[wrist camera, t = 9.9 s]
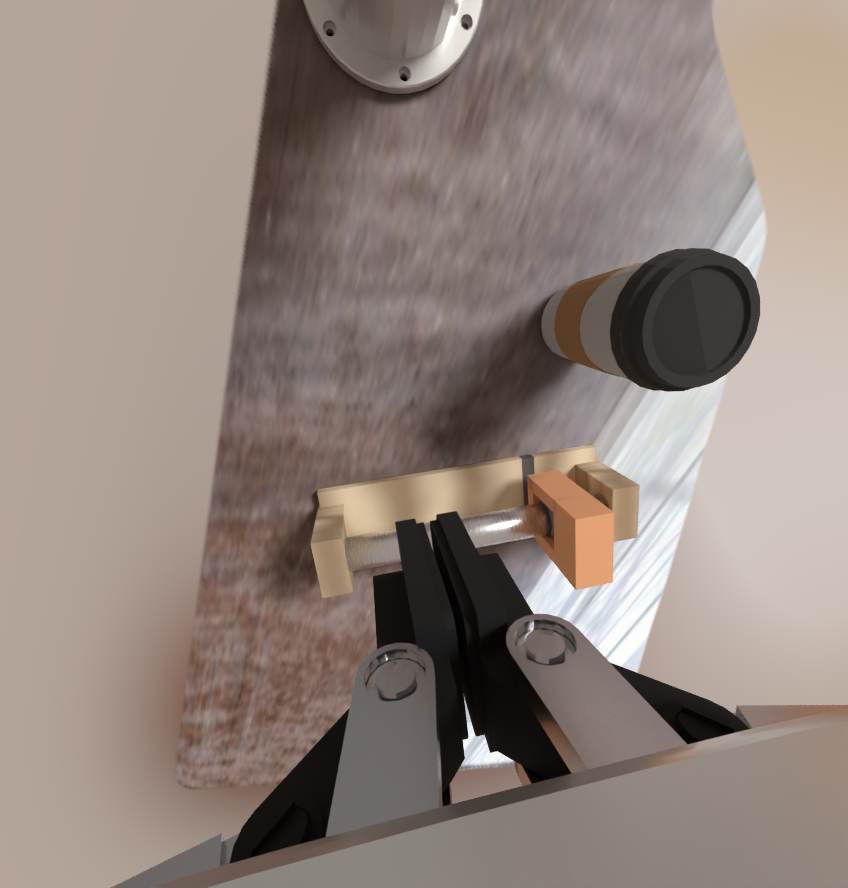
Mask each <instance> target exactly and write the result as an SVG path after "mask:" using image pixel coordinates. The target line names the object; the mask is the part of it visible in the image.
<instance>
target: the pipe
mask: <svg viewBox="0 0 848 888" xmlns="http://www.w3.org/2000/svg"><path fill="white" fill-rule="evenodd" d="M590 495H592V496H593V497H594V498H596V499H597V500H598V501H600V502H601V503H602V504H604V505H605V506H606V507H608V508H609V504H608V502H607V500H606V498H605V497H604V496H603V495H602V494H601V493H592V494H590ZM609 509H610V508H609ZM460 518H461V520H462V522H463V524H464V526H465V528H466V530H467V532H468V534H469V536H470V538H471V540H472V542H473V544H474V545H475V547H476V548H479V547H484V546H490V545H495V544H500V543H506V542H511V541H516V540H522V539H527V538H532V537H538V536H543V535H546V536H548V537H551V536H554V513H553V512H552V511H551V510H550V509H549V508H548V507H547V506H546V505H545V504H544V503H543V502H542V501H541V500H540V501H539V503H536V504H530V505H525V506H519V507H514V508H508V509H502V510H497V511H491V512H486V513H480V514H474V515H469V516H463V517H460ZM424 524H425V528H426V531H427V534H428V537H429V540H430V543H431V546H432V539H431V531H430V523H424ZM432 549H433V547H432ZM345 552H346V559H347V565H348V569H349V571H350V572H351V571H357V570H362V569H367V568H373V567H378V566H383V565H389V564H394V563H399V562H401V558H400V552H399V545H398V539H397V532H396V529H391V530H385V531H379V532H374V533H368V534H363V535H357V536H351V537H346V538H345Z"/></svg>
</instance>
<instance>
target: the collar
mask: <svg viewBox="0 0 848 888" xmlns="http://www.w3.org/2000/svg"><path fill="white" fill-rule="evenodd" d="M527 481H528V504H529V505H530V504H536V503H539V501H540V500H541V501H542V502H543V503H544V504H545V505H546V506H547V507H548V508H549V509H550V510H551V511H552V512H553V513H554V536H551V537H548V536H546V535H543V536H538V537H534V538H535V540H536V541H537V542H538V543H539V545H540V546H541V547H542V548H543V550H544V551H545V552H546V553H547V555H548V556H549V557H550V558H551V560H552V561H553V562H554V563H555V564H556V566H557V567H558V568H559V569H560V571H561V572H562V573H563V574H564V576H565V577H566V578H567V579H568V581H569V582H570V583H571V584H572V586H573V587H574V588H575V589H576V590H577V589H582V588H587V587H592V586H597V585H601V584H606V583H611V582H613V542H614V512H613V511H612V510H610V509H609V508H608V507H606V506H605V505H604V504H602V503H601V502H600V501H598V500H597V499H596V498H594V497H593V496H592V495H590V494H589V493H588V492H586V491H585V490H584V489H582V488H581V487H580V486H578V485H577V484H576V483H574V482H573V481H572V480H570V479H569V478H568V477H567V476H565V475H564V474H563V473H561V472H560V471H559V470H555V471H549V472H544V473H538V474H532V475H527Z"/></svg>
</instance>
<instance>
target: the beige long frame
mask: <svg viewBox="0 0 848 888" xmlns="http://www.w3.org/2000/svg"><path fill="white" fill-rule="evenodd" d="M555 470H559V471H560V472H561V473H563V474H564V475H565V476H567V477H568V478H569V479H570V480H572V481H573V482H574V483H576V484H577V485H578V486H580V487H581V488H582V489H584V490H585V491H586V492H588V493H589V494H592V493H601V494H602V495H603V496H604V497H605V498H606V500H607V502H608V504H609V508H610V510H612V511H613V512H614V542H615V541H621V540H626V539H631V538H636V537H637V531H638V508H639V486H640V485H638V484H637V483H635V482H633V481H632V480H630V479H628V478H627V477H625V476H623V475H621V474H620V473H618V472H616V471H615V470H613V469H611V468H610V467H608V466H606V465H604V464H603V463H601V462H599V461H598V460H596V446H594V445H592V444H591V445H585V446H579V447H573V448H567V449H561V450H555V451H548V452H542V453H536V454H530V455H524V456H518V457H512V458H506V459H500V460H494V461H488V462H482V463H476V464H470V465H464V466H458V467H451V468H445V469H439V470H433V471H427V472H421V473H415V474H409V475H403V476H397V477H391V478H385V479H379V480H373V481H367V482H360V483H354V484H348V485H342V486H336V487H330V488H324V489H318V491H317V495H318V499H319V506H318V511H317V516H316V520H315V525H314V530H313V534H312V539H311V549H312V553H313V557H314V562H315V566H316V571H317V575H318V580H319V584H320V588H321V593H322V597H323V598H326V597H331V596H336V595H341V594H346V593H352V591H353V571H351V572H350V571H349V569H348V565H347V559H346V552H345V538H346V537H351V536H357V535H363V534H368V533H374V532H379V531H385V530H391V529H396V525H395V522H397V521H402V520H408V519H414V518H415V520H416V523H422V522H424V523H430V521H433V520H436V515H437V514H442V513H448V512H453V511H457V512H458V514H459V516H460V517H463V516H469V515H474V514H480V513H486V512H491V511H497V510H502V509H508V508H514V507H519V506H525V505H529V504H528V481H527V475H532V474H538V473H544V472H549V471H555Z"/></svg>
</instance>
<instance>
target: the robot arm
mask: <svg viewBox="0 0 848 888" xmlns="http://www.w3.org/2000/svg"><path fill="white" fill-rule="evenodd" d="M303 2H304V6H305V9H306V12H307V15H308V18H309V21H310V23H311V25H312V27H313V29H314V31H315V33H316V35H317V37H318V39H319V41H320V42H321V44H322V45H323V47H324V48H325V50H326V51H327V52H328V54H329V55H330V57H331V58H332V59H333V60H334V61H335V62H336V63H337V64H338V65H339V66H340V67H341V68H342V69H343V70H344V71H345V72H346V73H347V74H349V75H350V76H352V77H353V78H354V79H356V80H357V81H359V82H360V83H362V84H364V85H366V86H369V87H371V88H373V89H375V90H379V91H383V92H388V93H392V94H409V93H413V92H417V91H421V90H425V89H427V88H429V87H431V86H433V85H435V84H437V83H439V82H440V81H441V80H442V79H444V78H445V77H446V76H447V75H448V74H450V73H451V72H452V71H453V70H454V68H455V67H456V66H457V65H458V63H459V62H460V61H461V60H462V58H463V57H464V55H465V53H466V51H467V49H468V47H469V46H470V44H471V42H472V39H473V37H474V35H475V32H476V30H477V27H478V23H479V19H480V15H481V11H482V7H483V0H303ZM463 27H465V28H466V29H467V30H465V29H464V28H463ZM328 33H332V34H333V35H334V36H327V34H328ZM401 77H405V78H406V80H407V81H402V80H401V79H400V78H401ZM395 525H396V532H397V539H398V545H399V552H400V558H401V565H402V571H398V572H392V573H387V574H382V575H377V576H373V584H374V602H375V619H376V637H377V650H375V651H374V652H372V653H371V654H370V655H369V656H367V657H366V658H365V659H364V661H363V662H362V663H361V665H360V666H359V668H358V671H357V674H356V676H355V681H354V687H353V692H352V698H351V703H350V708H349V709H348V710H347V711H346V712H345V713H344V715H343V716H342V717H341V718H340V719H339V720H338V721H337V722H336V723H335V724H334V725H333V726H332V728H331V729H330V730H329V731H328V732H327V733H326V734H325V735H324V736H323V737H322V738H321V740H320V741H319V742H318V743H317V744H316V745H315V746H314V747H313V748H312V749H311V750H310V751H309V753H308V754H307V755H306V756H305V757H304V758H303V759H302V760H301V761H300V762H299V763H298V764H297V766H296V767H295V768H294V769H293V770H292V771H291V772H290V773H289V774H288V775H287V776H286V778H285V779H284V780H283V781H282V782H281V783H280V784H279V785H278V786H277V787H276V788H275V789H274V791H273V792H272V793H271V794H270V795H269V796H268V797H267V798H266V799H265V800H264V801H263V803H262V804H261V805H260V806H259V807H258V808H257V809H256V810H255V811H254V813H253V814H252V815H251V817H250V818H249V819H248V821H247V822H246V823H245V825H244V826H243V827H242V829H241V832H240V833H239V834H237V835H235V836H233V837H231V838H229V839H227V840H225V841H224V838H223V836H222V834H219V835H217V836H215V837H213V838H211V839H209V840H207V841H205V842H203V843H201V844H199V845H197V846H195V847H193V848H191V849H189V850H187V851H185V852H183V853H180V854H178V855H176V856H174V857H172V858H170V859H168V860H166V861H164V862H162V863H160V864H158V865H156V866H155V867H152V868H150V869H148V870H146V871H144V872H142V873H140V874H138V875H136V876H134V877H132V878H130V879H128V880H126V881H124V882H122V883H120V884H117V885H116V886H114V887H111V888H848V705H770V706H769V705H768V706H767V705H764V706H763V705H762V706H758V705H757V706H756V705H755V706H754V705H752V706H737V708H736V713H731V712H730V711H728V710H727V709H726V708H724V707H722V706H720V705H718V704H716V703H714V702H712V701H710V700H707V699H705V698H702V697H699V696H696V695H694V694H691V693H689V692H686V691H683V690H681V689H678V688H675V687H673V686H670V685H668V684H665V683H662V682H660V681H657V680H654V679H652V678H649V677H646V676H644V675H641V674H639V673H636V672H633V671H631V670H628V669H625V668H623V667H620V666H617V665H615V664H612V663H610V662H609V661H608V660H607V659H606V658H605V657H604V656H603V655H602V654H601V653H600V652H599V651H598V650H597V649H596V648H595V647H594V646H593V645H592V643H591V642H590V641H589V640H588V639H587V638H586V637H585V636H584V635H583V634H582V633H581V632H580V631H579V630H578V629H577V628H576V627H575V626H573V625H572V624H571V623H570V622H568V621H566V620H564V619H562V618H560V617H556V616H552V615H548V614H533V612H532V611H531V609H530V607H529V606H528V604H527V602H526V601H525V599H524V597H523V596H522V594H521V592H520V591H519V589H518V587H517V585H516V584H515V582H514V580H513V579H512V577H511V575H510V574H509V572H508V570H507V569H506V567H505V565H504V564H503V562H502V560H501V559H500V557H499V556H498V554H497V553H492V554H487V555H482V556H480V555H479V553H478V551H477V549H476V547H475V545H474V544H473V542H472V540H471V538H470V536H469V534H468V532H467V530H466V528H465V526H464V524H463V522H462V520H461V518H460V516H459V514H458V512H457V511H453V512H448V513H442V514H437V515H436V520H433V521H430V531H431V539H432V546H431V543H430V540H429V537H428V534H427V531H426V528H425V524H424V522H422V523H416V520H415V518H414V519H408V520H402V521H397V522H395ZM432 547H433V549H432ZM463 693H464V694H463ZM464 697H465V700H466V704H467V708H468V711H469V715H470V718H471V722H472V725H473V729H474V732H475V735H476V736H480V735H484V734H485V737H486V740H487V744H488V747H489V750H490V753H491V752H495V751H498V752H500V753H502V754H503V755H505V756H507V757H509V758H510V759H512V760H514V763H515V769H516V772H517V774H518V777H519V779H520V781H521V783H522V785H523V786H521V787H518V788H514V789H510V790H506V791H502V792H498V793H494V794H490V795H487V796H482V797H478V798H475V799H471V800H467V801H463V802H459V803H455V804H452V792H451V785H450V783H451V781H452V779H453V777H454V776H455V774H456V772H457V771H458V769H459V767H460V766H461V764H462V762H463V761H464V759H465V757H464V749H463V739H468V729H467V721H466V712H465V703H464Z"/></svg>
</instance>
